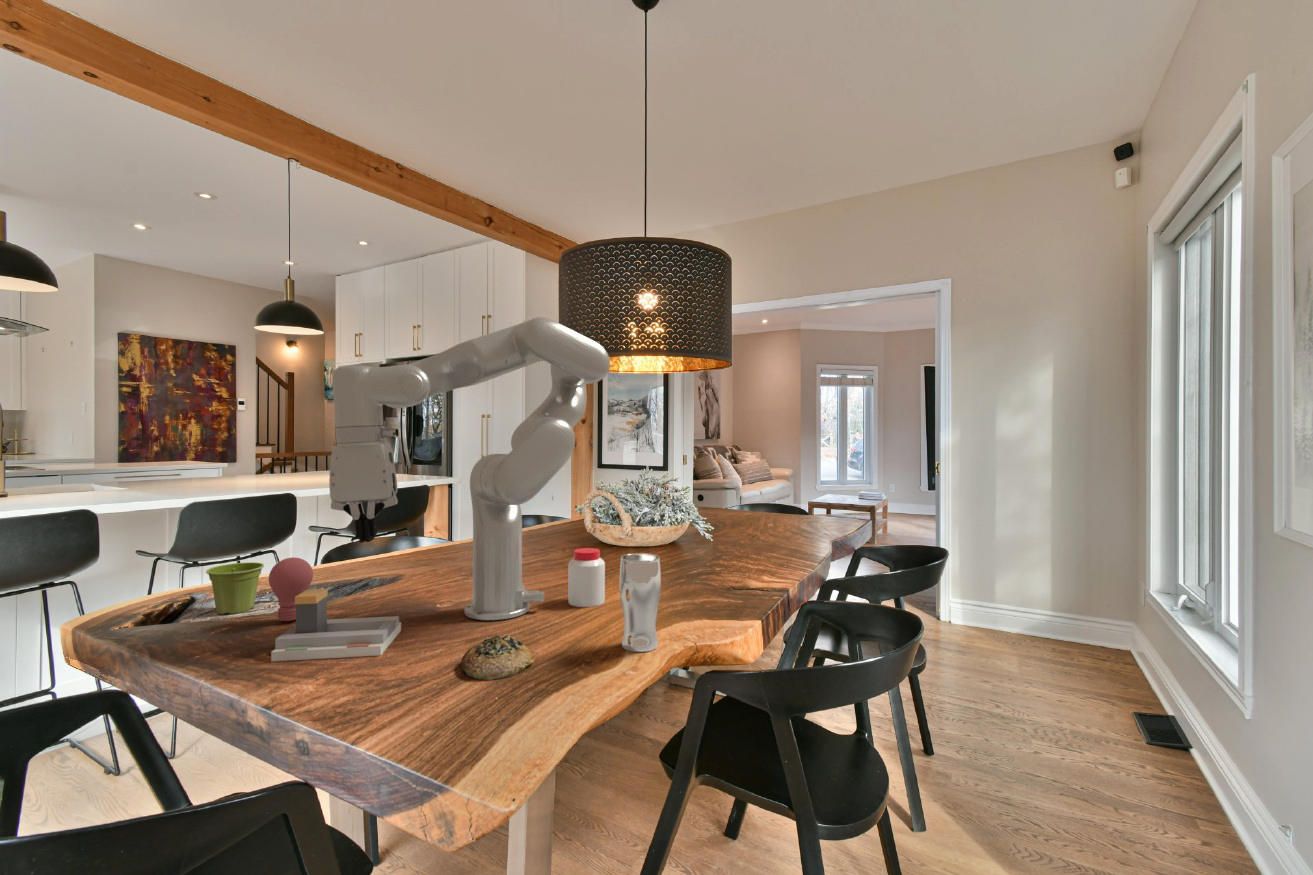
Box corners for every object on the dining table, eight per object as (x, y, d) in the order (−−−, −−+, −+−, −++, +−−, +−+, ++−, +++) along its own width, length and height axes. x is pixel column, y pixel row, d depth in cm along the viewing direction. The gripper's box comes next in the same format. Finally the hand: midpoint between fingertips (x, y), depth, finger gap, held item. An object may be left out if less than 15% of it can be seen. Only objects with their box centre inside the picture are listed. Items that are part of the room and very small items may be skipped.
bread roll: (474, 650, 94) (478, 621, 94) (540, 661, 94) (544, 631, 94) (446, 682, 83) (450, 648, 83) (521, 694, 83) (526, 661, 83)
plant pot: (272, 608, 117) (272, 565, 117) (218, 620, 109) (218, 575, 109) (251, 601, 122) (251, 560, 122) (197, 612, 114) (197, 568, 114)
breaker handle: (327, 630, 99) (327, 588, 99) (316, 640, 94) (316, 596, 94) (307, 631, 98) (307, 589, 98) (294, 641, 94) (294, 596, 94)
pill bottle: (589, 609, 117) (589, 555, 117) (560, 603, 121) (560, 551, 121) (612, 600, 124) (612, 549, 124) (584, 595, 128) (584, 545, 128)
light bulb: (321, 615, 113) (321, 554, 113) (295, 627, 105) (295, 562, 105) (287, 614, 113) (287, 553, 113) (259, 626, 106) (259, 561, 106)
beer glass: (629, 656, 92) (630, 562, 92) (612, 642, 99) (613, 554, 98) (668, 649, 96) (668, 558, 96) (649, 636, 102) (649, 551, 102)
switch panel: (401, 630, 104) (401, 613, 104) (380, 655, 92) (380, 636, 92) (304, 635, 102) (304, 618, 102) (271, 661, 90) (271, 642, 90)
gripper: (410, 434, 106) (416, 533, 107) (322, 438, 103) (329, 539, 104) (400, 435, 99) (406, 541, 99) (305, 439, 96) (312, 548, 97)
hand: (367, 540), depth 102 cm, fingers closed
